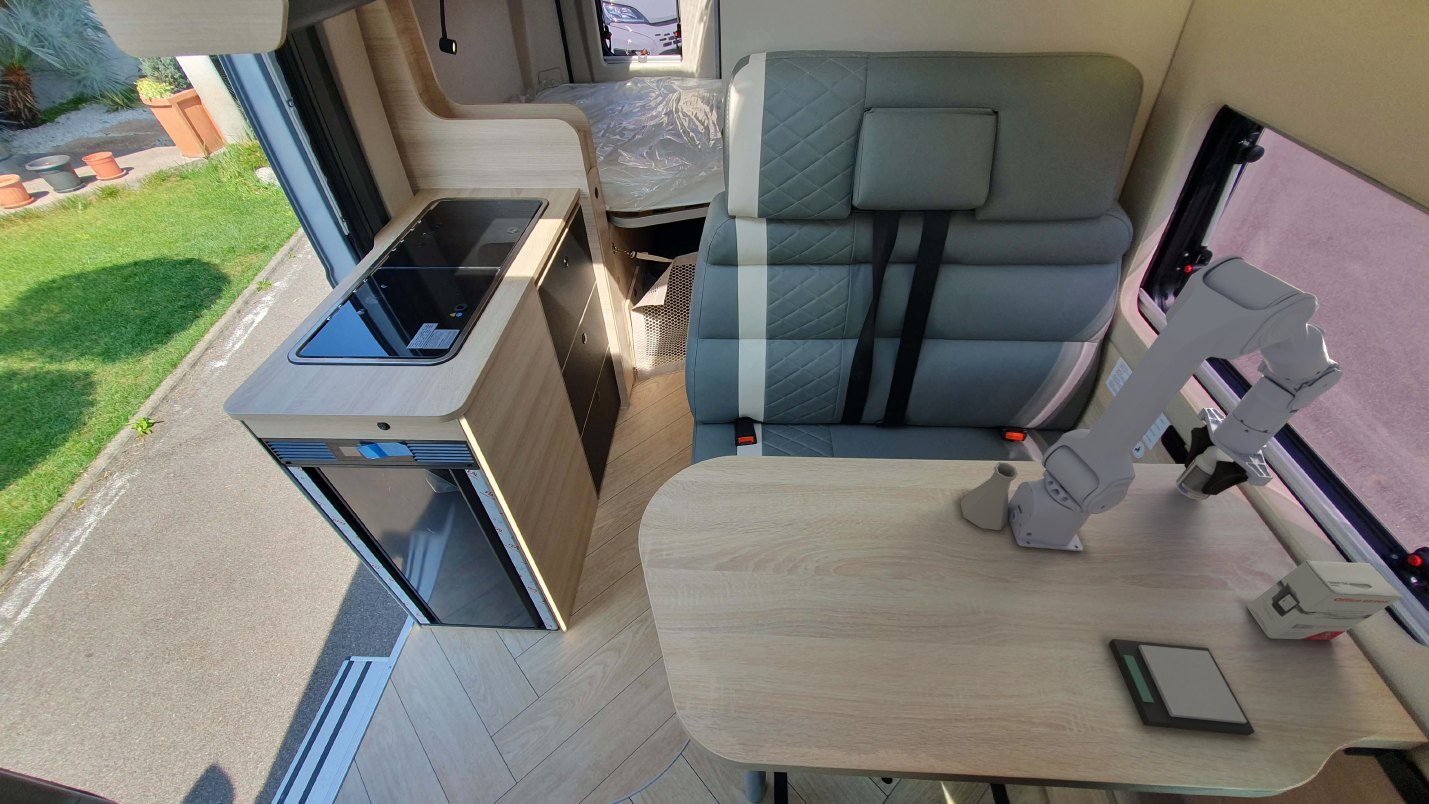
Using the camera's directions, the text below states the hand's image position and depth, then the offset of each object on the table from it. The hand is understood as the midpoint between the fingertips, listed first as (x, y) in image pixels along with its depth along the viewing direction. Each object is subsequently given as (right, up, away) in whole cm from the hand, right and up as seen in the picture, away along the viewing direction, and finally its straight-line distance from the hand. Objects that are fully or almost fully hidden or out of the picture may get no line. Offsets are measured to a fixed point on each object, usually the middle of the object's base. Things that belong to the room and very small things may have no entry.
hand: (1199, 480), depth 93 cm
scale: (-21, -23, -21) cm, 37 cm away
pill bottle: (0, -2, +2) cm, 3 cm away
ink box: (0, -18, -14) cm, 23 cm away
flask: (-36, -5, -1) cm, 36 cm away
